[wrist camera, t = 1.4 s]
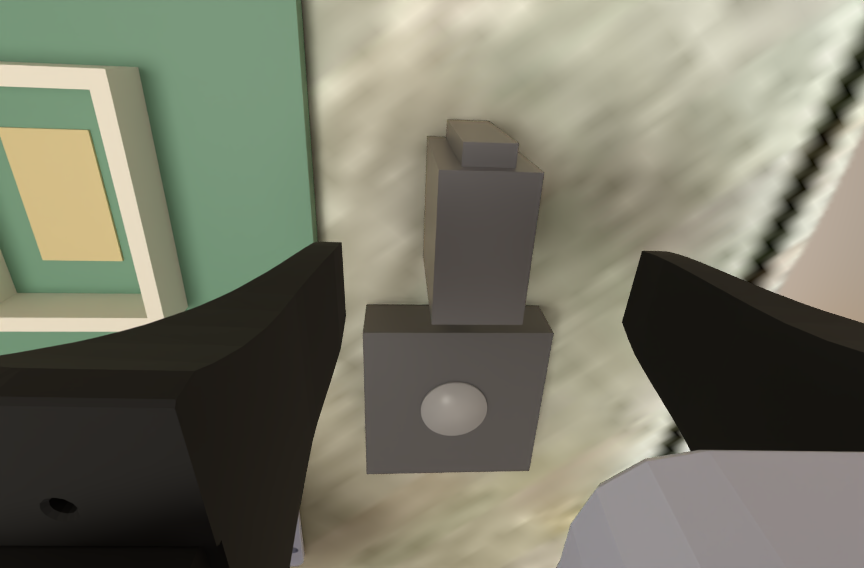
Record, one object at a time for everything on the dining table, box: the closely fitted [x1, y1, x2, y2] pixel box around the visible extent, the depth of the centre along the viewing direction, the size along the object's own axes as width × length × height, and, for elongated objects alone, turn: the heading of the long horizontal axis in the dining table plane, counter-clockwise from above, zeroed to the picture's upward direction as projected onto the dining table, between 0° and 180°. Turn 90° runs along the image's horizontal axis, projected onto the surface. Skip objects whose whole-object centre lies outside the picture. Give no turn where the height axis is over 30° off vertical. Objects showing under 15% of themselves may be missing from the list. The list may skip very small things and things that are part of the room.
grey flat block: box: [363, 305, 554, 474], centre depth 22 cm, size 10×8×2 cm
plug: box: [423, 120, 544, 325], centre depth 17 cm, size 6×3×6 cm, turn 178°
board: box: [0, 0, 318, 355], centre depth 17 cm, size 16×16×3 cm
